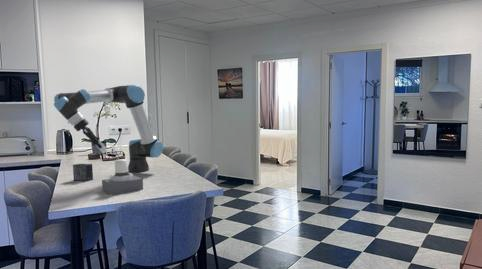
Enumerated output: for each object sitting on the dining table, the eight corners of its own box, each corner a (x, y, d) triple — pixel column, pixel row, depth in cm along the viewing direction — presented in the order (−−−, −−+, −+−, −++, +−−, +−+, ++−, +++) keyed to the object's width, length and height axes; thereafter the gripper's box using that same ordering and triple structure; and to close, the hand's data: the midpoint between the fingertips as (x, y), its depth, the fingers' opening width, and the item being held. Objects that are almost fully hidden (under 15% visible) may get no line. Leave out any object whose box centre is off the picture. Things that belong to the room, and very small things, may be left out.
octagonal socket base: (132, 185, 207) (132, 171, 207) (143, 189, 197) (142, 174, 196) (102, 190, 196) (101, 175, 195) (111, 194, 185) (110, 179, 184)
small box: (93, 179, 227) (92, 163, 226) (86, 181, 220) (85, 165, 220) (80, 178, 230) (79, 163, 229) (73, 180, 223) (72, 164, 222)
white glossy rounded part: (125, 177, 201) (124, 158, 200) (130, 179, 196) (129, 160, 195) (113, 179, 196) (112, 160, 195) (118, 181, 191) (117, 161, 190)
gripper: (74, 125, 201) (99, 152, 207) (71, 127, 178) (99, 158, 184) (85, 117, 203) (109, 144, 209) (83, 118, 180) (111, 148, 186)
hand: (105, 151), depth 197 cm, fingers open, 13 cm apart
